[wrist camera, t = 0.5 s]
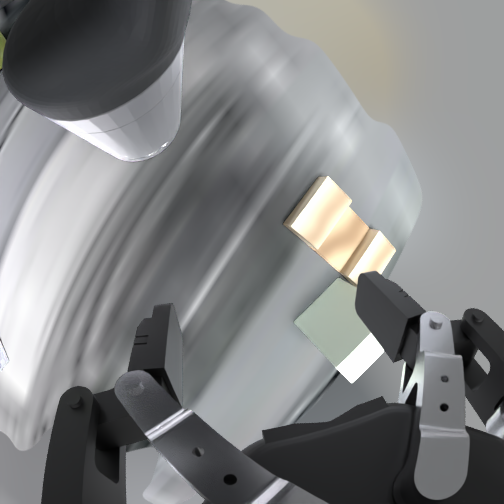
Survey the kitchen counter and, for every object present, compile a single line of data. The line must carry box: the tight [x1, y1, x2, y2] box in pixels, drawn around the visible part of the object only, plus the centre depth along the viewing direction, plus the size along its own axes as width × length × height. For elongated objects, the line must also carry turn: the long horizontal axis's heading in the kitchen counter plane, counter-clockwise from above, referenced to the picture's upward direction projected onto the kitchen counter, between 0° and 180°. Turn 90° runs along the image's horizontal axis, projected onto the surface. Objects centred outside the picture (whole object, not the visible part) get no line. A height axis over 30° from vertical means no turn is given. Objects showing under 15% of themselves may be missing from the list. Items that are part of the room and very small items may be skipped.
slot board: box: [283, 176, 396, 287], centre depth 33 cm, size 14×7×2 cm, turn 51°
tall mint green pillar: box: [294, 278, 384, 383], centre depth 30 cm, size 4×8×11 cm, turn 131°
